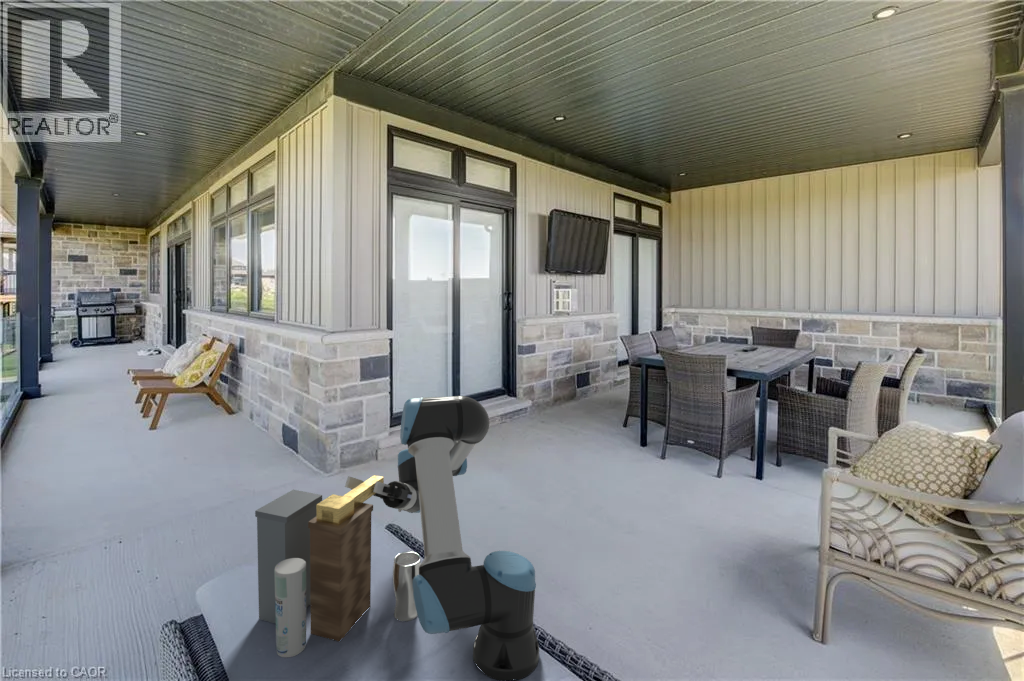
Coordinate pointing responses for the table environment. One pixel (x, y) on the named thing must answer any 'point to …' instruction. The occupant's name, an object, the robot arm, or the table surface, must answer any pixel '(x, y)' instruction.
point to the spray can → (290, 606)
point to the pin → (345, 502)
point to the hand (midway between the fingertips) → (361, 484)
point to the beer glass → (405, 584)
